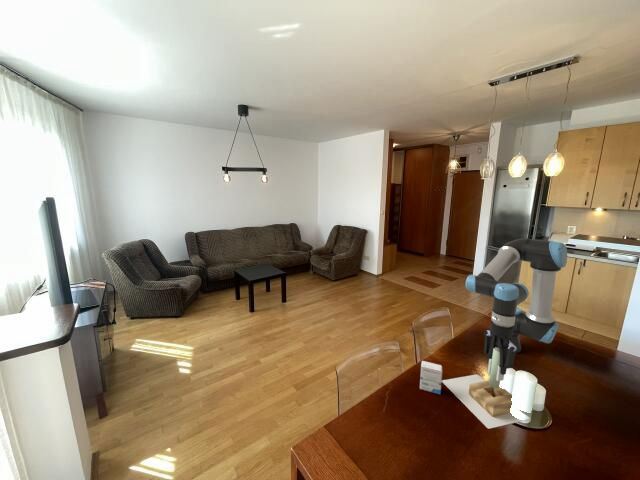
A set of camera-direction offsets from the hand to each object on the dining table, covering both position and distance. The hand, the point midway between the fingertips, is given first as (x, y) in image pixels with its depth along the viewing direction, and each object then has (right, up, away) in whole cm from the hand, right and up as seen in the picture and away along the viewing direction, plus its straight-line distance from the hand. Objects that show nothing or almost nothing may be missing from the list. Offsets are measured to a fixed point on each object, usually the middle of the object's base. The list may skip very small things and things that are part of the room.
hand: (495, 376), depth 106 cm
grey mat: (-3, -12, +5) cm, 13 cm away
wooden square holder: (0, -12, +2) cm, 12 cm away
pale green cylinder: (0, -4, +1) cm, 4 cm away
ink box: (-22, -11, +10) cm, 27 cm away
